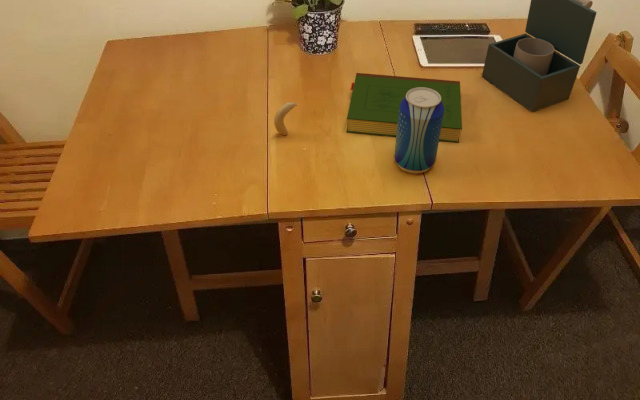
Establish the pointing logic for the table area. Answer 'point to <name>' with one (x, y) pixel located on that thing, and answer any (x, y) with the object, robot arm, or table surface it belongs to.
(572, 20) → the lid
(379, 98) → the hardcover book
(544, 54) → the cup
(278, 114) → the fruit
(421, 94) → the beer can
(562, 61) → the chest
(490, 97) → the table surface
